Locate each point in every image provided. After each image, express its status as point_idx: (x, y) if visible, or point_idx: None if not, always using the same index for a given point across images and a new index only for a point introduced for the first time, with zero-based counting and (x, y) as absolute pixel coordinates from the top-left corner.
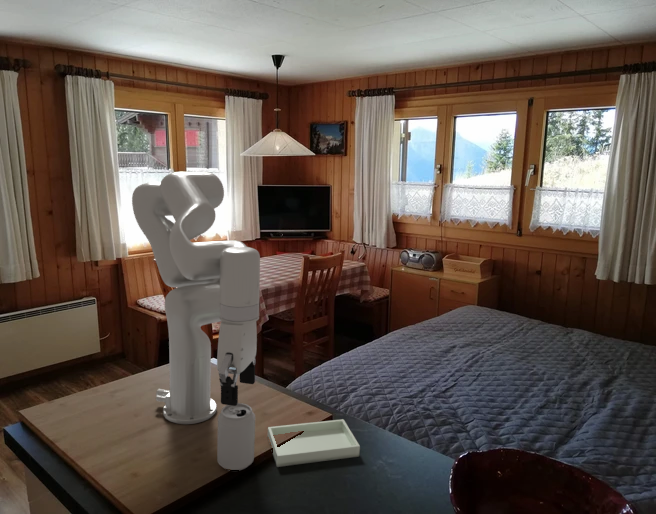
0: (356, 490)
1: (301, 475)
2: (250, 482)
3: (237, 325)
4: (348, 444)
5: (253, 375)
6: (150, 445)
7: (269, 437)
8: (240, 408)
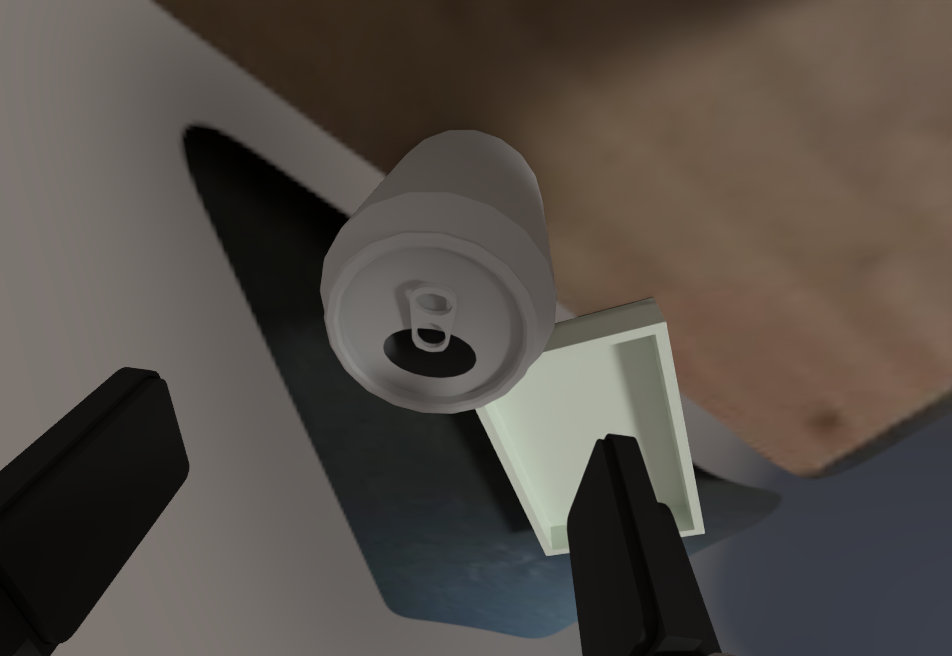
0: (403, 513)
1: None
2: None
3: None
4: None
5: (579, 604)
6: None
7: (616, 320)
8: (488, 339)
